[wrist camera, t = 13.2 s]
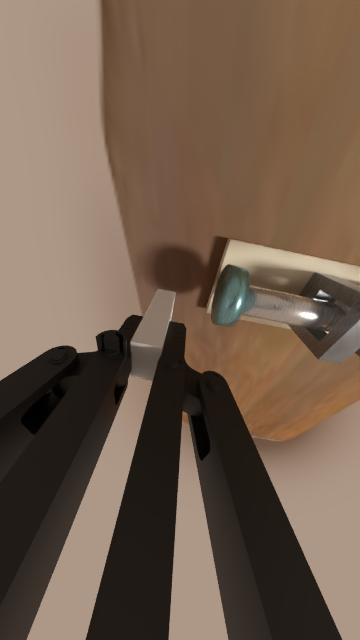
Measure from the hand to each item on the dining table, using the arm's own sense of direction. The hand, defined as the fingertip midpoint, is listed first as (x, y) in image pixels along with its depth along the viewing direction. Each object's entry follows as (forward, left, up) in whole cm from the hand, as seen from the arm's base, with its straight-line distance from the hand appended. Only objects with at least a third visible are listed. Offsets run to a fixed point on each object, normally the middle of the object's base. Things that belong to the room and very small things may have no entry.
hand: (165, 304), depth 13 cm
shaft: (0, +13, -7) cm, 15 cm away
